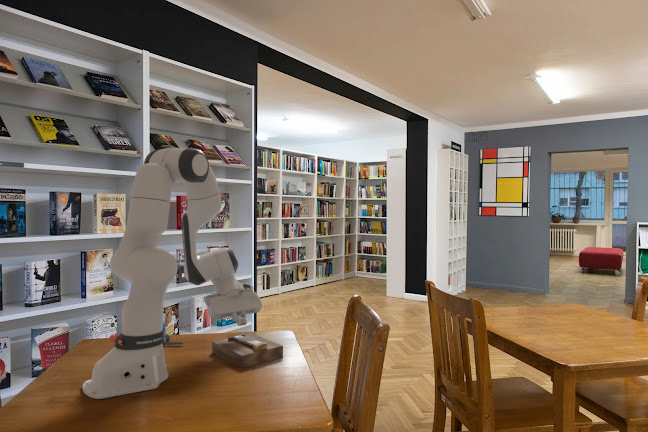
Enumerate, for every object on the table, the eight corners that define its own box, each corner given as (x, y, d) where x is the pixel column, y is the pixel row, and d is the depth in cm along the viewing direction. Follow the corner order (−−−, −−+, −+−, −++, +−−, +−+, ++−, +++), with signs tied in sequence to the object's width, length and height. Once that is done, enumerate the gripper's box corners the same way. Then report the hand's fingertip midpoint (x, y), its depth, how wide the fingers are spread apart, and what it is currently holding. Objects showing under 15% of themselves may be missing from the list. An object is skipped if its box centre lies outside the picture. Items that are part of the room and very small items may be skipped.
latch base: (242, 368, 137) (242, 350, 137) (212, 352, 152) (212, 336, 152) (282, 357, 148) (283, 340, 148) (251, 343, 163) (251, 328, 163)
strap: (254, 346, 144) (254, 344, 144) (232, 339, 155) (232, 336, 155) (262, 345, 146) (262, 342, 146) (240, 337, 157) (239, 335, 157)
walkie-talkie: (126, 348, 158) (182, 347, 159) (126, 336, 158) (182, 335, 159) (136, 341, 167) (188, 340, 168) (136, 329, 167) (188, 329, 168)
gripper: (205, 290, 151) (218, 324, 144) (255, 284, 164) (270, 315, 157) (199, 301, 154) (212, 334, 147) (249, 294, 168) (263, 325, 160)
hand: (242, 324), depth 152 cm, fingers closed
